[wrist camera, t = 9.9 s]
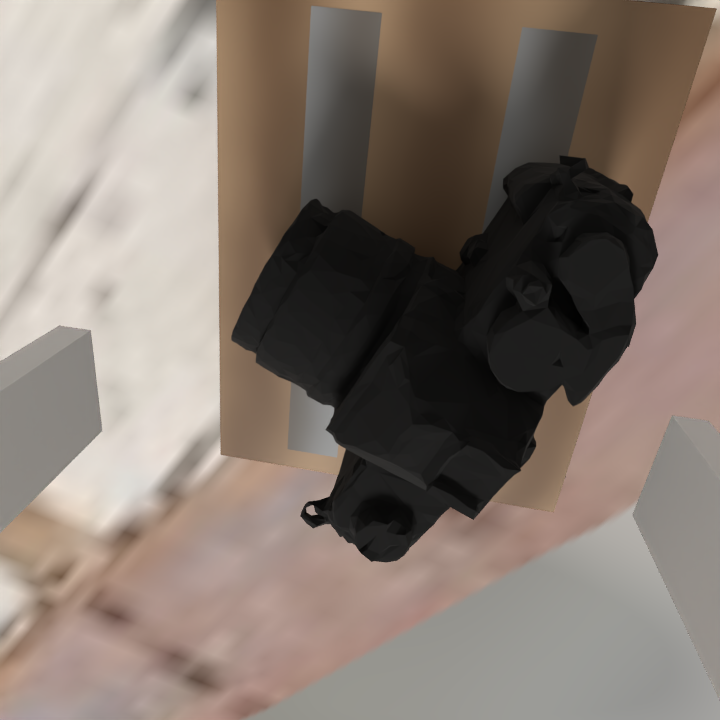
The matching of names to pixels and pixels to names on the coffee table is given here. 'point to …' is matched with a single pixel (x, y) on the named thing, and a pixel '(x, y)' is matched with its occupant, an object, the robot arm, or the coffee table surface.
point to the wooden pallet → (423, 154)
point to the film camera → (448, 342)
